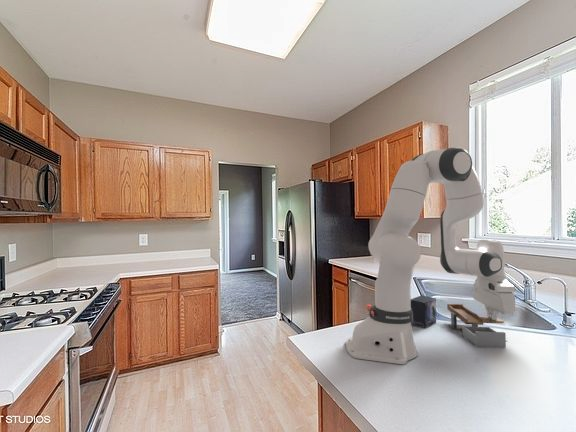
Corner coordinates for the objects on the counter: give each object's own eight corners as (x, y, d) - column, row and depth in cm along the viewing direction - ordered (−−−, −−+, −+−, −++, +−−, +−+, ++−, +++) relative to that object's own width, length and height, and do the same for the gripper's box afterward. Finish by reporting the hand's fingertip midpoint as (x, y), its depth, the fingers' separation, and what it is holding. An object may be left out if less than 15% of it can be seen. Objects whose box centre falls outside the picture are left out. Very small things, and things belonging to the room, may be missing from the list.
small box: (425, 329, 110) (425, 302, 110) (409, 324, 115) (409, 299, 115) (437, 322, 117) (436, 297, 117) (421, 318, 122) (421, 294, 122)
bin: (476, 347, 94) (476, 332, 94) (462, 335, 103) (462, 322, 103) (505, 348, 93) (505, 332, 93) (489, 336, 102) (488, 323, 102)
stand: (453, 329, 109) (453, 314, 109) (448, 326, 113) (448, 311, 113) (480, 330, 108) (480, 315, 108) (475, 326, 112) (474, 312, 112)
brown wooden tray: (465, 324, 103) (465, 317, 103) (446, 309, 118) (446, 303, 118) (506, 325, 102) (506, 318, 102) (482, 310, 117) (482, 304, 117)
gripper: (467, 276, 117) (468, 309, 116) (499, 288, 96) (500, 328, 96) (483, 276, 116) (484, 310, 116) (519, 288, 96) (520, 329, 95)
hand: (492, 318), depth 106 cm, fingers closed, pressing on brown wooden tray
